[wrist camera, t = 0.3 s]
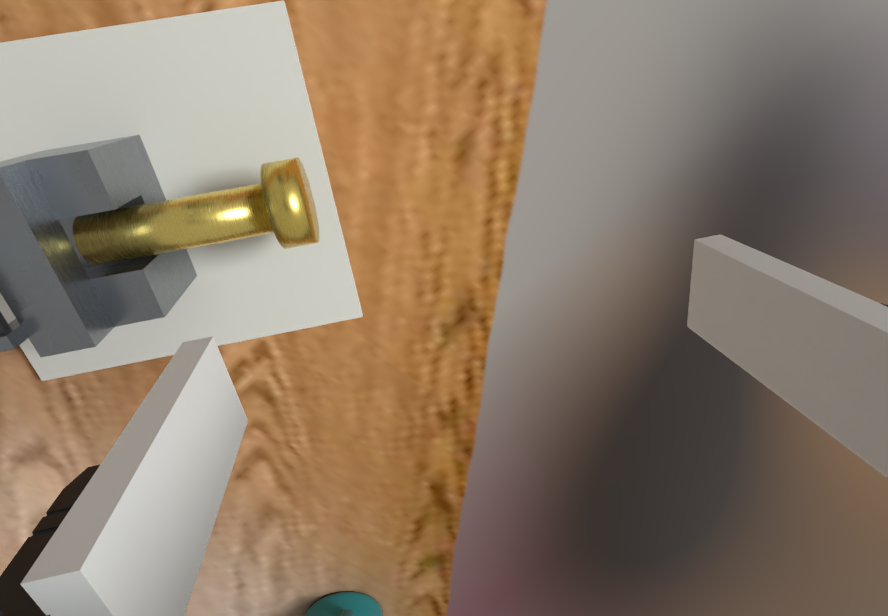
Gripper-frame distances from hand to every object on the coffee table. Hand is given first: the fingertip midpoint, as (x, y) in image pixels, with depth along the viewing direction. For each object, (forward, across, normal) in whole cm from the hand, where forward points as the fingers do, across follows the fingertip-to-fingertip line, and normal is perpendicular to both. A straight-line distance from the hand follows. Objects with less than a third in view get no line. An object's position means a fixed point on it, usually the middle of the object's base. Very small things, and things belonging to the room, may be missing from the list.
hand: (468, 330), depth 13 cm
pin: (+22, -13, 0) cm, 25 cm away
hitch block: (+25, -19, 0) cm, 31 cm away
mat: (+25, -18, 0) cm, 31 cm away
